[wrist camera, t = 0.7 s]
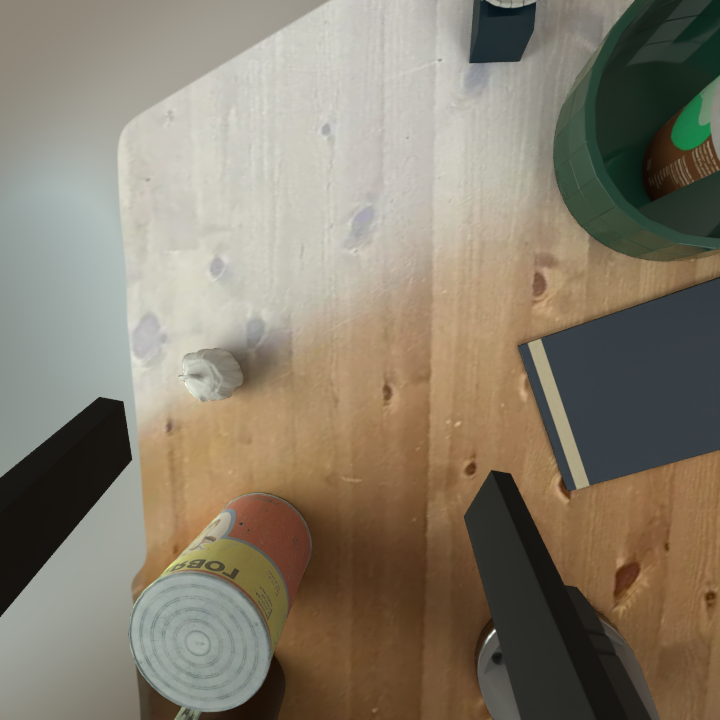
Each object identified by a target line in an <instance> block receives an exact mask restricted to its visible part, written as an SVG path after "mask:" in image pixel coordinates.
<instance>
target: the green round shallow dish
mask: <svg viewBox="0 0 720 720" xmlns="http://www.w3.org/2000/svg"><path fill="white" fill-rule="evenodd" d="M719 75H720V0H635V1H634V2H633V3H632V4H631V6H630V7H629V8H628V9H627V10H626V12H625V13H624V14H623V15H622V16H621V18H620V19H619V20H618V21H617V22H616V24H615V25H614V26H613V27H612V29H611V30H610V31H609V33H608V34H607V36H606V37H605V38H604V40H603V41H602V43H601V44H600V45H599V47H598V48H597V50H596V51H595V52H594V54H593V55H592V57H591V58H590V59H589V61H588V62H587V63H586V65H585V66H584V68H583V69H582V70H581V72H580V73H579V75H578V76H577V78H576V80H575V82H574V84H573V86H572V88H571V89H570V91H569V93H568V95H567V97H566V99H565V102H564V104H563V106H562V109H561V112H560V115H559V119H558V122H557V126H556V132H555V138H554V156H553V158H554V167H555V175H556V179H557V183H558V187H559V190H560V192H561V195H562V197H563V200H564V202H565V204H566V205H567V207H568V209H569V210H570V212H571V214H572V215H573V217H574V218H575V219H576V220H577V222H578V223H579V224H580V225H581V226H582V227H583V228H584V229H585V230H586V231H587V232H588V233H589V234H590V235H591V236H592V237H594V238H595V239H597V240H598V241H599V242H601V243H602V244H604V245H605V246H607V247H609V248H611V249H613V250H615V251H617V252H620V253H623V254H626V255H628V256H631V257H635V258H640V259H645V260H653V261H665V262H666V261H667V262H668V261H681V260H688V259H697V258H703V257H707V256H711V255H716V254H720V170H718V171H716V172H714V173H712V174H710V175H708V176H705V177H703V178H701V179H699V180H697V181H695V182H693V183H691V184H689V185H686V186H684V187H682V188H680V189H678V190H676V191H674V192H672V193H669V194H667V195H665V196H663V197H661V198H659V199H657V200H655V201H653V202H651V201H650V199H649V197H648V195H647V194H646V191H645V188H644V185H643V180H642V163H643V158H644V154H645V151H646V148H647V146H648V144H649V142H650V140H651V139H652V137H653V136H654V135H655V133H656V132H657V131H658V130H659V129H660V128H661V126H662V125H664V124H665V123H666V122H667V121H668V120H669V119H670V118H672V117H673V116H674V115H675V114H676V113H677V112H678V111H680V110H681V109H682V108H683V107H684V106H685V105H686V104H687V103H689V102H690V101H691V100H692V99H693V98H694V97H695V96H697V95H698V94H699V93H700V92H701V91H702V90H703V89H704V88H706V87H707V86H708V85H709V84H710V83H711V82H712V81H714V80H715V79H716V78H717V77H718V76H719Z"/></svg>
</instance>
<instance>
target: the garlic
mask: <svg viewBox="0 0 720 720" xmlns="http://www.w3.org/2000/svg"><path fill="white" fill-rule="evenodd" d="M182 362H183V366H184V369H183V370H184V372H183V375H179V376H178V380H184V382H185V384H186V387H187V389H188V391H189V392H191V393H192V395H193V396H195V397H196V398H197V399H198V400H199V401H202V402H204V401H208V400H210V401H213V400H217V399H218V400H223V399H226V398H229V397H231V396H232V394H233V392H234V390H235V388H236V387H238V386H240V385H241V384H242V383H243V374H242V373H241V370H240V367H239V364H238V363H237V362H236V361H235V360H234V358H233V356H232V355H231V354H230V353H229V352H228V351H226V350H222V349H219V348H214V349H202V350H199V351H198V352H195V353H189V354H186V355H185V356H184V357H183V360H182Z"/></svg>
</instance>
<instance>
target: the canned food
mask: <svg viewBox="0 0 720 720" xmlns="http://www.w3.org/2000/svg"><path fill="white" fill-rule="evenodd" d="M311 552H312V540H311V535H310V531H309V528H308V526H307V523H306V522H305V520H304V518H303V517H302V515H301V514H300V513H299V512H298V511H297V510H296V509H295V508H294V507H293V506H292V505H291V504H290V503H288V502H287V501H285V500H283V499H281V498H279V497H277V496H274V495H271V494H266V493H250V494H245V495H242V496H239V497H237V498H235V499H234V500H232V501H231V502H230V503H228V504H227V505H226V506H225V507H224V508H223V509H222V511H221V512H220V514H219V515H218V516H217V517H216V518H215V519H214V520H213V521H212V522H211V523H210V524H209V525H208V526H207V527H206V528H205V529H204V530H203V531H202V532H201V533H200V535H199V536H198V537H197V538H196V539H195V540H194V541H193V542H192V543H191V544H190V545H189V546H188V547H187V548H186V549H185V550H184V551H183V552H182V553H181V554H180V555H179V556H178V557H177V559H176V560H175V561H174V562H173V563H172V564H171V565H170V566H169V567H168V568H167V569H166V570H165V571H164V572H163V573H162V574H161V575H160V576H159V577H158V578H157V579H156V580H155V581H154V582H153V583H152V584H150V585H149V586H148V587H147V588H146V589H145V590H144V591H143V592H142V593H141V595H140V596H139V597H138V599H137V600H136V602H135V604H134V606H133V608H132V612H131V615H130V619H129V627H128V636H129V643H130V649H131V652H132V655H133V658H134V661H135V663H136V665H137V667H138V669H139V670H140V672H141V674H142V675H143V676H144V678H145V679H146V680H147V681H148V683H149V684H150V685H151V686H152V687H153V688H154V689H155V690H156V691H157V692H159V693H160V694H161V695H162V696H164V697H165V698H167V699H168V700H170V701H172V702H173V703H175V704H177V705H180V706H182V707H185V708H188V709H191V710H196V711H202V712H219V711H225V710H228V709H232V708H234V707H237V706H239V705H241V704H243V703H244V702H246V701H247V700H249V699H250V698H251V697H252V696H253V695H254V694H255V693H256V692H257V691H258V690H259V688H260V687H261V686H262V684H263V682H264V680H265V678H266V676H267V673H268V670H269V667H270V662H271V659H272V656H273V653H274V651H275V648H276V646H277V643H278V640H279V638H280V635H281V632H282V630H283V627H284V624H285V622H286V619H287V616H288V614H289V611H290V609H291V606H292V603H293V601H294V598H295V595H296V593H297V590H298V587H299V585H300V582H301V579H302V577H303V574H304V572H305V570H306V568H307V566H308V563H309V561H310V557H311Z"/></svg>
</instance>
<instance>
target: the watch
mask: <svg viewBox="0 0 720 720" xmlns="http://www.w3.org/2000/svg"><path fill="white" fill-rule="evenodd" d="M536 1H537V0H474V7H473V21H472V35H471V49H470V62H469V63H487V62H515V61H520V59H521V56H522V54H523V52H524V50H525V48H526V46H527V43H528V41H529V39H530V37H531V35H532V33H533V30H534V22H535V11H536Z"/></svg>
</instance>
